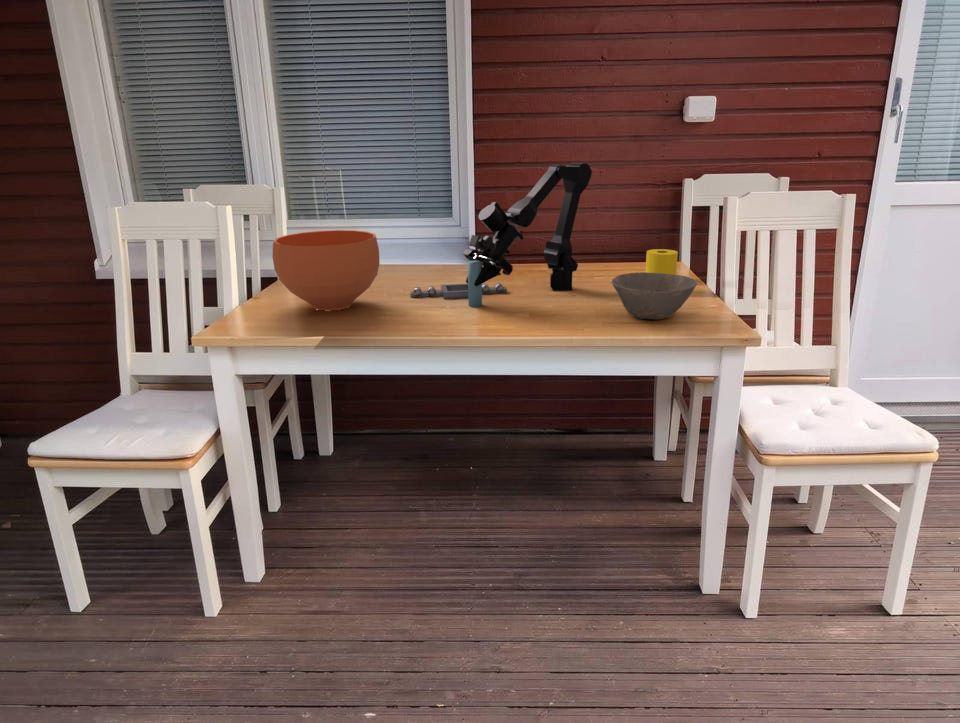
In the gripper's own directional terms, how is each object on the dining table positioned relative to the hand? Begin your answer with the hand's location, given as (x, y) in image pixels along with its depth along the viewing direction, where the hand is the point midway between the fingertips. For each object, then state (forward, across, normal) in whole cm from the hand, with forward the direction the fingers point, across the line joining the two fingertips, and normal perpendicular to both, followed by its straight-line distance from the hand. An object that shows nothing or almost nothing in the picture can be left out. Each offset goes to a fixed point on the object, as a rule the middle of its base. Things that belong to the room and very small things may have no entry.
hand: (470, 284), depth 191 cm
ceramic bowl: (-18, +40, +28) cm, 52 cm away
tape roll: (-44, +11, +54) cm, 71 cm away
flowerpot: (+28, -26, -19) cm, 42 cm away
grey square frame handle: (+1, -15, +8) cm, 17 cm away
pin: (+4, 0, +6) cm, 7 cm away
